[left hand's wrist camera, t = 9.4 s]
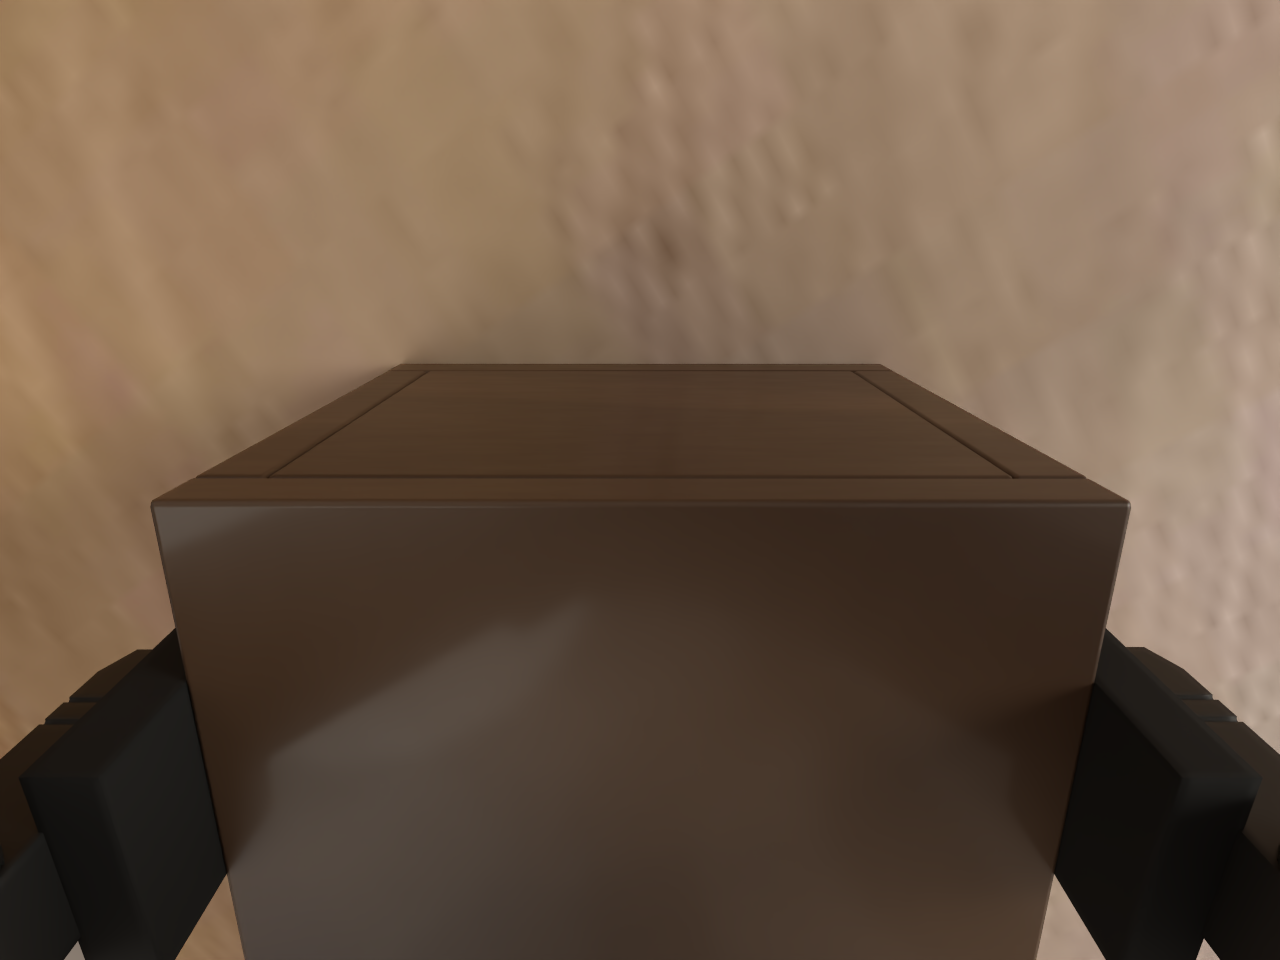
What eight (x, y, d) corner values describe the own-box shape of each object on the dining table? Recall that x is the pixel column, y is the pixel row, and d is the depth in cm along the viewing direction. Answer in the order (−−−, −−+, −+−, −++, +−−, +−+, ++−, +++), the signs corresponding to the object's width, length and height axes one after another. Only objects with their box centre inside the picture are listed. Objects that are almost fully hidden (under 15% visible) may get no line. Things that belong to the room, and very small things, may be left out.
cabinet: (821, 977, 21) (936, 1445, 13) (458, 976, 21) (343, 1445, 13) (882, 363, 16) (1135, 501, 8) (398, 363, 16) (146, 500, 8)
